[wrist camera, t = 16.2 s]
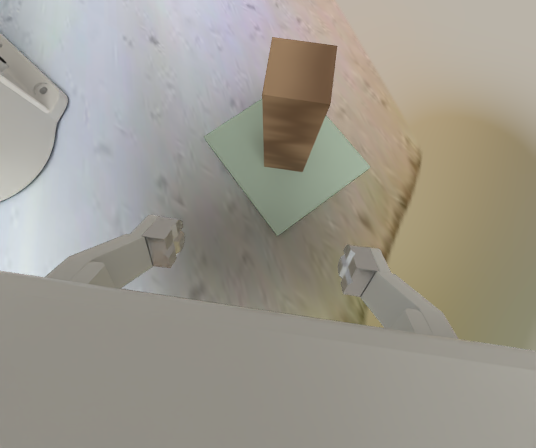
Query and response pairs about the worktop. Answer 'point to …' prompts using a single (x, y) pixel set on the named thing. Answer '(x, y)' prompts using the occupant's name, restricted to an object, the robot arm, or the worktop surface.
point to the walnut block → (295, 100)
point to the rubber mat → (279, 180)
